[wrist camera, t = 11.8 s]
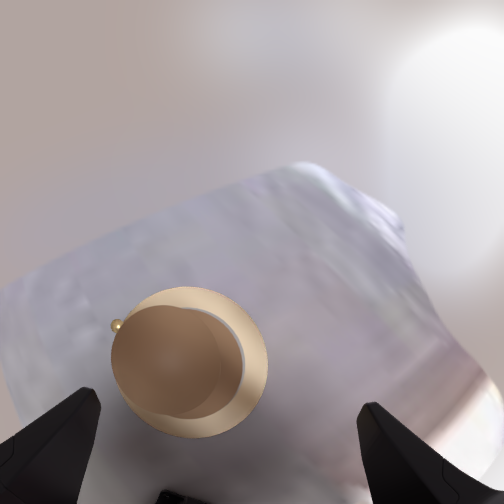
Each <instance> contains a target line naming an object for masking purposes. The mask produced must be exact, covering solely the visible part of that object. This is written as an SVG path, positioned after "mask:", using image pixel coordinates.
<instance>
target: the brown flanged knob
mask: <svg viewBox="0 0 504 504" xmlns="http://www.w3.org/2000/svg"><path fill="white" fill-rule="evenodd" d="M111 363H112V369H113V373H114V376H115V379H116V381H117V383H118V385H119V387H120V388H121V390H122V391H123V393H124V394H125V395H126V396H127V397H128V398H129V399H130V400H131V401H132V402H133V403H135V404H136V405H137V406H139V407H141V408H143V409H144V410H147V411H149V412H152V413H156V414H161V415H168V416H171V417H175V418H179V419H198V418H203V417H206V416H209V415H212V414H214V413H216V412H217V411H219V410H220V409H222V408H223V407H224V406H225V405H226V404H228V403H229V401H230V400H231V399H232V398H233V396H234V395H235V393H236V391H237V389H238V387H239V385H240V381H241V378H242V371H243V362H242V355H241V351H240V348H239V346H238V343H237V341H236V339H235V338H234V336H233V334H232V333H231V332H230V331H229V329H228V328H227V327H226V326H225V325H224V324H223V323H221V322H220V321H219V320H218V319H216V318H214V317H213V316H211V315H209V314H207V313H204V312H201V311H198V310H192V309H182V308H179V307H175V306H170V305H157V306H151V307H147V308H145V309H142V310H140V311H138V312H136V313H135V314H133V315H132V316H130V317H129V318H128V319H127V320H126V321H125V322H124V323H123V324H122V326H121V327H120V329H119V330H118V332H117V334H116V336H115V339H114V342H113V345H112V351H111Z"/></svg>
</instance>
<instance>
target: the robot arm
mask: <svg viewBox="0 0 504 504" xmlns="http://www.w3.org/2000/svg"><path fill="white" fill-rule="evenodd" d="M100 411H101V404H100V402H99V399H98V397H97V395H96V392H95V391H94V390H93V389H91V388H87V387H82V388H80V389H79V390H77V391H76V392H74V393H73V394H72V395H70V396H69V397H67V398H66V399H65V400H63V401H62V402H60V403H59V404H58V405H56V406H55V407H53V408H52V409H50V410H49V411H48V412H46V413H45V414H43V415H42V416H41V417H39V418H38V419H36V420H35V421H33V422H32V423H31V424H29V425H28V426H26V427H25V428H23V429H22V430H21V431H19V432H18V433H16V434H15V435H14V436H12V437H10V438H9V439H8V440H6V441H4V442H3V443H1V444H0V504H77V500H78V496H79V492H80V488H81V485H82V481H83V478H84V474H85V471H86V467H87V464H88V461H89V458H90V454H91V451H92V448H93V444H94V440H95V435H96V430H97V425H98V420H99V416H100ZM357 428H358V435H359V442H360V449H361V456H362V461H363V465H364V469H365V473H366V477H367V481H368V485H369V489H370V493H371V497H372V501H373V504H504V491H499V490H495V489H492V488H490V487H488V486H486V485H484V484H482V483H481V482H479V481H477V480H475V479H474V478H472V477H470V476H469V475H467V474H466V473H464V472H462V471H461V470H459V469H458V468H457V467H455V466H454V465H453V464H451V463H450V462H449V461H447V460H446V459H445V458H443V457H442V456H441V455H440V454H438V453H437V452H436V451H435V450H434V449H432V448H431V447H430V446H429V445H427V444H426V443H425V442H424V441H422V440H421V439H420V438H419V437H418V436H416V435H415V434H414V433H413V432H412V431H410V430H409V429H408V428H407V427H406V426H404V425H403V424H402V423H401V422H400V421H398V420H397V419H396V418H395V417H394V416H392V415H391V414H390V413H389V412H388V411H387V410H385V409H384V408H383V407H382V406H381V405H379V404H378V403H377V402H370V403H365V404H364V405H363V407H362V409H361V411H360V413H359V415H358V417H357ZM164 494H168V495H169V497H166V496H164ZM155 504H207V503H204V502H201V501H198V500H195V499H193V498H190V497H184V496H181V495H179V494H176V493H174V492H171V491H169V490H162V491H161V493H160V495H159V497H158V499H157V501H156V503H155Z"/></svg>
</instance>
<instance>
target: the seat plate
mask: <svg viewBox="0 0 504 504" xmlns="http://www.w3.org/2000/svg"><path fill="white" fill-rule="evenodd" d="M157 305H170V306H175V307H179V308H182V309H192V310H198V311H201V312H204V313H207V314H209V315H211V316H213V317H214V318H216V319H218V320H219V321H220V322H221V323H223V324H224V325H225V326H226V327H227V328H228V329H229V331H230V332H231V333H232V334H233V336H234V338H235V339H236V341H237V343H238V346H239V348H240V351H241V355H242V362H243V371H242V378H241V381H240V385H239V387H238V389H237V391H236V393H235V395H234V396H233V398H232V399H231V400H230V401H229V403H228V404H226V405H225V406H224V407H223V408H222V409H220V410H219V411H217V412H216V413H214V414H212V415H209V416H206V417H203V418H198V419H179V418H175V417H171V416H168V415H161V414H156V413H152V412H149V411H147V410H144V409H143V408H141V407H139V406H137V405H136V404H135V403H133V402H132V401H131V400H130V399H129V398H128V397H127V396H126V395H125V394H124V393H123V391H122V390H121V388H120V387H119V385H118V383H117V385H118V388H119V390H120V392H121V394H122V396H123V398H124V400H125V401H126V403H127V404H128V405H129V407H130V408H131V409H132V411H133V412H134V413H135V414H136V415H137V416H138V417H139V418H141V419H142V420H143V421H144V422H146V423H147V424H148V425H150V426H152V427H153V428H155V429H157V430H159V431H161V432H164V433H166V434H169V435H173V436H177V437H183V438H204V437H210V436H214V435H218V434H220V433H223V432H225V431H227V430H229V429H231V428H233V427H234V426H236V425H237V424H239V423H240V422H241V421H242V420H244V419H245V418H246V417H247V416H248V415H249V414H250V413H251V411H252V410H253V409H254V407H255V406H256V404H257V403H258V401H259V399H260V397H261V395H262V393H263V390H264V387H265V384H266V379H267V371H268V360H267V352H266V347H265V344H264V341H263V338H262V335H261V333H260V331H259V329H258V327H257V326H256V324H255V323H254V321H253V320H252V318H251V317H250V316H249V315H248V314H247V313H246V312H245V310H243V309H242V308H241V307H240V306H239V305H238V304H236V303H235V302H234V301H232V300H231V299H229V298H227V297H225V296H224V295H222V294H220V293H217V292H214V291H212V290H208V289H204V288H198V287H177V288H171V289H167V290H163V291H160V292H158V293H156V294H153V295H152V296H150V297H148V298H146V299H145V300H143V301H142V302H141V303H139V304H138V305H137V306H136V307H135V308H134V309H133V310H132V311H131V312H130V313H129V315H128V316H127V317H126V319H125V320H124V322H125V321H126V320H127V319H128V318H129V317H130V316H132V315H133V314H135V313H136V312H138V311H140V310H142V309H145V308H147V307H151V306H157ZM124 322H123V321H121V320H119V319H115V320H113V321H112V323H111V329H112V331H113V332H115V333H117V332H118V330H119V329H120V327H121V326H122V324H123V323H124ZM116 382H117V381H116Z"/></svg>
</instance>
